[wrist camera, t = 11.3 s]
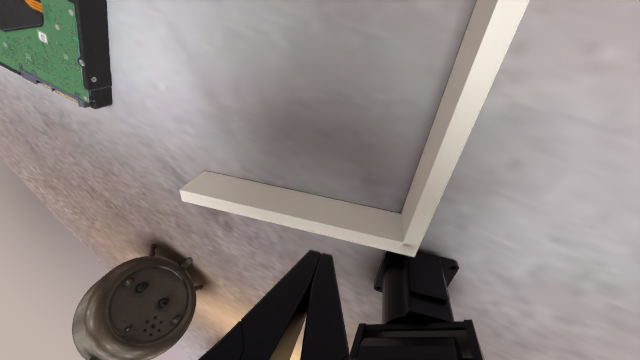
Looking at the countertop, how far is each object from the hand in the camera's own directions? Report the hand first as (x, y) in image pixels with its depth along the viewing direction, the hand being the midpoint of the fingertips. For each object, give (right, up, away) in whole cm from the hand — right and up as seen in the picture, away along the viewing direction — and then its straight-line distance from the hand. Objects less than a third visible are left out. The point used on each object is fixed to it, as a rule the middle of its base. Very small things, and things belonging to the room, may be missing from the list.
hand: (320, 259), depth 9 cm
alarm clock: (-19, -8, +25) cm, 32 cm away
